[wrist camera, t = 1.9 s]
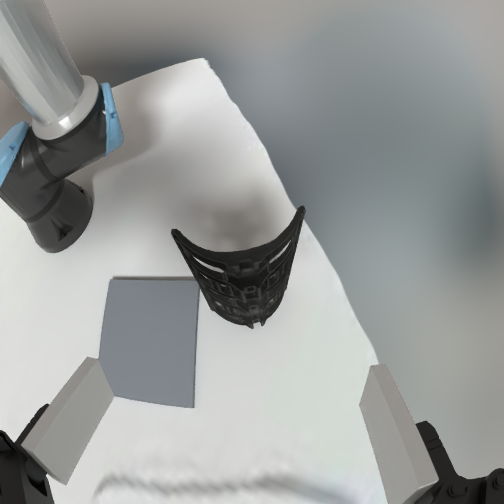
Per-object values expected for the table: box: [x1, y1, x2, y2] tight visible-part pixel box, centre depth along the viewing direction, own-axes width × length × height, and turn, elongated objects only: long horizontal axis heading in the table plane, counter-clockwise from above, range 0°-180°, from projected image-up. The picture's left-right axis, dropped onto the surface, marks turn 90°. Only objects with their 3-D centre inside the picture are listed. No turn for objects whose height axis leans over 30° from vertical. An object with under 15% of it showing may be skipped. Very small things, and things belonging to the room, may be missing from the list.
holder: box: [171, 206, 306, 329], centre depth 30 cm, size 11×8×20 cm
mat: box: [99, 279, 200, 408], centre depth 36 cm, size 18×15×1 cm
